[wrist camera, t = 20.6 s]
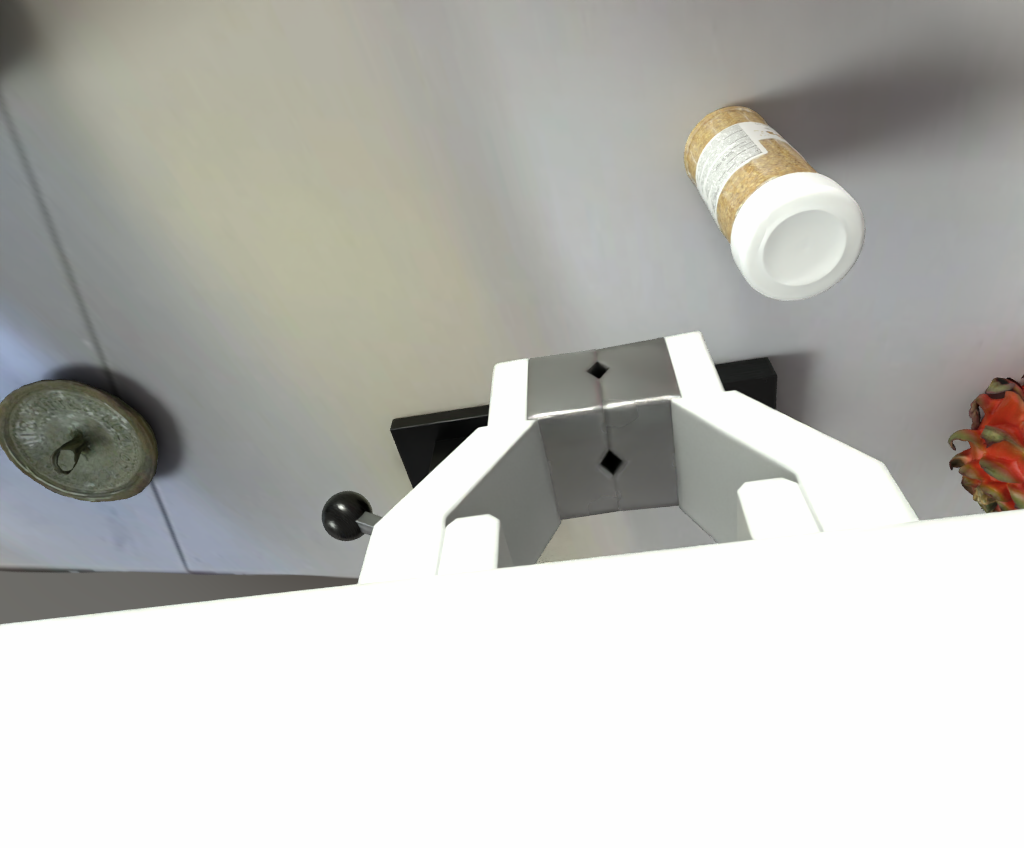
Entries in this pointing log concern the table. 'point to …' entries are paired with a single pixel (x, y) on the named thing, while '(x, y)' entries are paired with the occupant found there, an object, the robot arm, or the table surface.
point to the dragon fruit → (994, 449)
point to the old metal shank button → (78, 440)
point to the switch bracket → (434, 438)
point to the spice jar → (773, 206)
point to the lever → (348, 516)
